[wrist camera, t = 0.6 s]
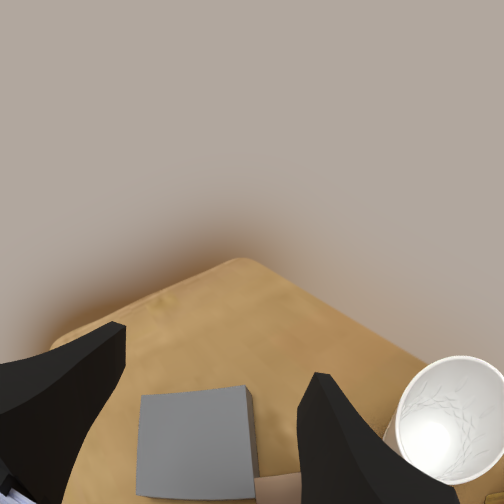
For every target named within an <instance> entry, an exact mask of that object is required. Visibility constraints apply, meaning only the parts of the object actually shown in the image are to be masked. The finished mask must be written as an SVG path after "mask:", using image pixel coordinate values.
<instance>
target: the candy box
mask: <svg viewBox="0 0 504 504" xmlns="http://www.w3.org/2000/svg"><path fill="white" fill-rule="evenodd" d="M485 504H504V492H500V493H496V494H491V495H487V496H486V500H485Z"/></svg>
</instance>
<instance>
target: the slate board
mask: <svg viewBox="0 0 504 504" xmlns="http://www.w3.org/2000/svg"><path fill="white" fill-rule="evenodd" d="M254 478H260V475H259V466H258V456H257V446H256V436H255V425H254V415H253V404H252V395H251V393H250V392H249V390H248V389H247V387H246V385H241V386H235V387H227V388H220V389H212V390H203V391H193V392H183V393H170V394H156V395H142V396H141V406H140V418H139V431H138V447H137V470H136V495H139V496H144V497H150V498H160V499H173V500H198V501H218V500H244V499H256V493H255V483H254Z"/></svg>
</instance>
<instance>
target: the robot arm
mask: <svg viewBox="0 0 504 504" xmlns="http://www.w3.org/2000/svg"><path fill="white" fill-rule="evenodd" d="M125 366H126V326H125V325H122V324H119V323H116V322H113V321H111V322H109V323H107V324H105V325H103V326H101V327H99V328H97V329H95V330H94V331H92V332H90V333H88V334H86V335H84V336H82V337H80V338H78V339H76V340H74V341H72V342H69V343H67V344H65V345H62V346H60V347H58V348H55V349H53V350H51V351H48V352H45V353H43V354H40V355H36V356H33V357H30V358H27V359H22V360H18V361H14V362H8V363H3V364H0V504H62V500H63V496H64V493H65V489H66V486H67V483H68V480H69V477H70V474H71V471H72V468H73V466H74V463H75V461H76V458H77V456H78V453H79V451H80V448H81V446H82V444H83V442H84V439H85V437H86V435H87V433H88V431H89V429H90V427H91V426H92V424H93V422H94V421H95V419H96V418H97V416H98V415H99V413H100V411H101V410H102V408H103V407H104V405H105V403H106V402H107V400H108V399H109V397H110V396H111V394H112V392H113V391H114V389H115V388H116V386H117V384H118V382H119V379H120V377H121V375H122V373H123V371H124V368H125ZM297 440H298V450H299V460H300V469H301V483H302V491H301V504H460V502H459V499H458V497H457V494H456V492H455V489H454V488H453V487H451V486H449V485H447V484H445V483H443V482H441V481H438V480H436V479H434V478H432V477H431V476H429V475H427V474H426V473H424V472H422V471H421V470H419V469H417V468H416V467H414V466H413V465H412V464H410V463H409V462H407V461H406V460H405V459H404V458H402V457H401V456H400V455H398V454H397V453H396V452H395V451H394V450H392V449H391V448H390V447H389V446H388V445H387V444H386V443H385V442H384V441H383V440H382V439H381V438H380V437H379V436H378V435H377V434H376V433H375V432H374V431H373V430H372V429H371V428H370V427H369V425H368V424H367V423H366V422H365V421H364V420H363V418H362V417H361V416H360V415H359V413H358V412H357V411H356V410H355V408H354V407H353V406H352V404H351V403H350V402H349V400H348V399H347V397H346V396H345V395H344V393H343V392H342V390H341V389H340V388H339V386H338V385H337V383H336V382H335V381H334V379H333V378H332V377H331V375H330V374H324V373H317V372H315V373H314V375H313V377H312V379H311V381H310V383H309V386H308V388H307V390H306V392H305V394H304V396H303V398H302V400H301V402H300V404H299V406H298V408H297Z"/></svg>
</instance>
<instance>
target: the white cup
mask: <svg viewBox="0 0 504 504" xmlns="http://www.w3.org/2000/svg"><path fill="white" fill-rule="evenodd" d="M383 441H384V442H385V443H386V444H387V445H388V446H389V447H390V448H391V449H392V450H394V451H395V452H396V453H397V454H398V455H400V456H401V457H402V458H404V459H405V460H406V461H407V462H409V463H410V464H412V465H413V466H414V467H416V468H417V469H419V470H421V471H422V472H424V473H426V474H427V475H429V476H431V477H432V478H434V479H436V480H438V481H441V482H443V483H445V484H447V485H456V484H462V483H465V482H469V481H471V480H474V479H476V478H478V477H479V476H481V475H483V474H484V473H486V472H487V471H488V470H489V469H491V468H492V467H493V466H494V465H495V464H496V463H497V462H498V460H499V459H500V458H501V457H502V455H503V454H504V376H503V375H502V374H501V373H500V372H499V371H498V370H497V369H496V368H495V367H493V366H492V365H491V364H489V363H487V362H485V361H483V360H481V359H478V358H475V357H470V356H452V357H447V358H443V359H441V360H438V361H436V362H434V363H432V364H430V365H428V366H427V367H425V368H424V369H423V370H421V371H420V372H419V373H418V374H417V375H416V376H415V377H414V378H413V379H412V381H411V382H410V383H409V385H408V386H407V388H406V389H405V391H404V393H403V395H402V397H401V399H400V401H399V404H398V406H397V408H396V410H395V412H394V414H393V416H392V418H391V420H390V422H389V424H388V427H387V429H386V431H385V434H384V436H383Z"/></svg>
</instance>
